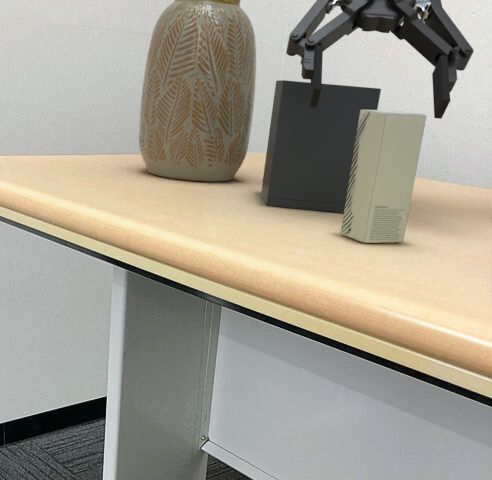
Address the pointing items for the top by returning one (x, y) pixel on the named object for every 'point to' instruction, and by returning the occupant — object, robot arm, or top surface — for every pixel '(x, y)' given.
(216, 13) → the vase
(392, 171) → the box
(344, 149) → the dark grey block
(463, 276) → the top surface
